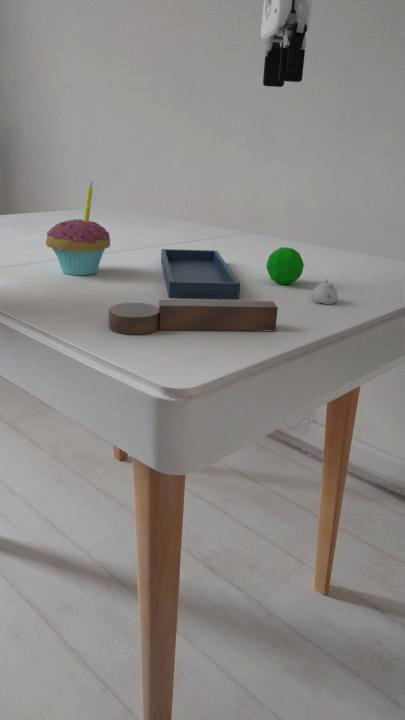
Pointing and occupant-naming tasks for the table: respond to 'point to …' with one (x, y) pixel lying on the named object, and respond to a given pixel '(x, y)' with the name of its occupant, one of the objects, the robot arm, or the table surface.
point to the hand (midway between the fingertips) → (281, 83)
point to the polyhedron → (285, 265)
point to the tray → (198, 274)
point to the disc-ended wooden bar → (193, 316)
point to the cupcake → (79, 243)
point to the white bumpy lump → (325, 293)
